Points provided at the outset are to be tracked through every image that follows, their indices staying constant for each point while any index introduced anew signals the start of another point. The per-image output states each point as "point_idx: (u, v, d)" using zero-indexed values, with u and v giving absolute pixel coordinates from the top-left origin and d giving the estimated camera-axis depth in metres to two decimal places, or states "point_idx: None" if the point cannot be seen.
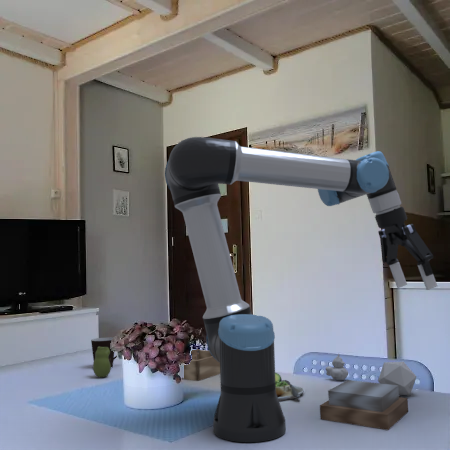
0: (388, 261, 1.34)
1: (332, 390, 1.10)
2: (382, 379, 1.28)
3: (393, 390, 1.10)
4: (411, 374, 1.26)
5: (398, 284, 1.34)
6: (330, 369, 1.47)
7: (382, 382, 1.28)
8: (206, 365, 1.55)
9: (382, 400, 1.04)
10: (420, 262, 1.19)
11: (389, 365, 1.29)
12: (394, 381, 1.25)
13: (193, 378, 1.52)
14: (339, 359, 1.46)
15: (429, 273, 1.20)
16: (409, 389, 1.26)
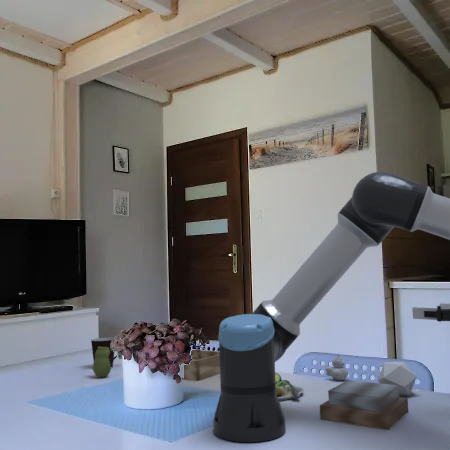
0: None
1: (332, 390, 1.10)
2: (382, 379, 1.28)
3: (393, 390, 1.10)
4: (411, 374, 1.26)
5: (443, 304, 1.27)
6: (330, 369, 1.47)
7: (382, 382, 1.28)
8: (206, 365, 1.55)
9: (382, 400, 1.04)
10: (438, 308, 1.12)
11: (389, 365, 1.29)
12: (394, 381, 1.25)
13: (193, 378, 1.52)
14: (339, 359, 1.46)
15: (425, 313, 1.15)
16: (409, 389, 1.26)
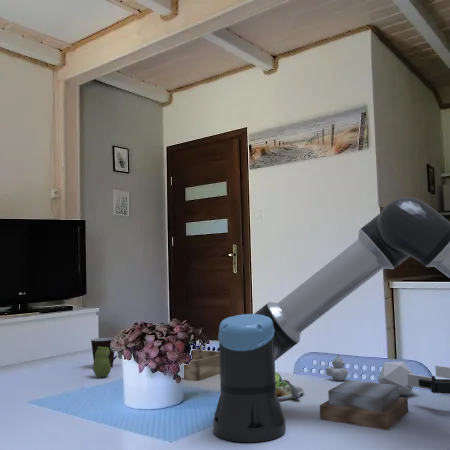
0: None
1: (332, 390, 1.10)
2: (382, 379, 1.28)
3: (393, 390, 1.10)
4: None
5: (438, 367, 1.27)
6: (330, 369, 1.47)
7: (382, 382, 1.28)
8: (206, 365, 1.55)
9: (382, 400, 1.04)
10: (433, 378, 1.13)
11: (389, 365, 1.29)
12: (394, 381, 1.25)
13: (193, 378, 1.52)
14: (339, 359, 1.46)
15: (420, 382, 1.15)
16: (409, 389, 1.26)
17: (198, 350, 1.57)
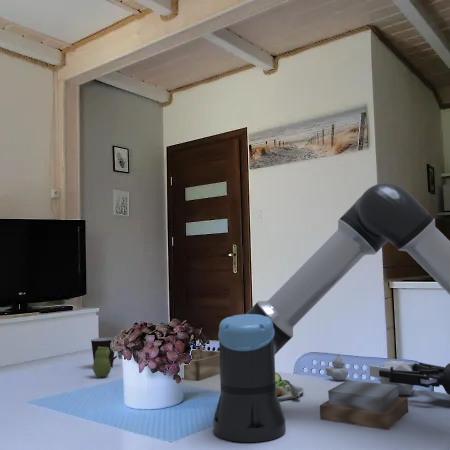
0: (416, 364, 1.30)
1: (332, 390, 1.10)
2: (382, 378, 1.28)
3: (393, 390, 1.10)
4: None
5: None
6: (330, 369, 1.47)
7: (382, 381, 1.29)
8: (206, 365, 1.55)
9: (382, 400, 1.04)
10: (391, 369, 1.23)
11: (389, 364, 1.29)
12: None
13: (193, 378, 1.52)
14: (339, 359, 1.46)
15: (380, 372, 1.26)
16: (409, 389, 1.26)
17: (199, 350, 1.57)
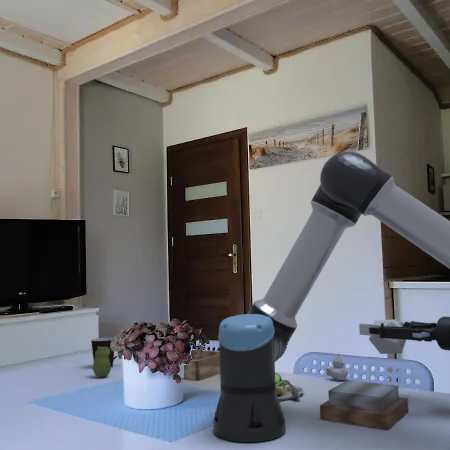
0: (407, 322, 1.25)
1: (332, 390, 1.10)
2: (372, 336, 1.23)
3: (393, 390, 1.10)
4: None
5: None
6: (330, 369, 1.47)
7: (373, 340, 1.23)
8: (206, 365, 1.55)
9: (382, 400, 1.04)
10: (381, 325, 1.18)
11: (380, 322, 1.24)
12: (385, 338, 1.20)
13: (193, 378, 1.52)
14: (339, 359, 1.46)
15: (370, 329, 1.20)
16: (401, 346, 1.21)
17: (199, 350, 1.57)
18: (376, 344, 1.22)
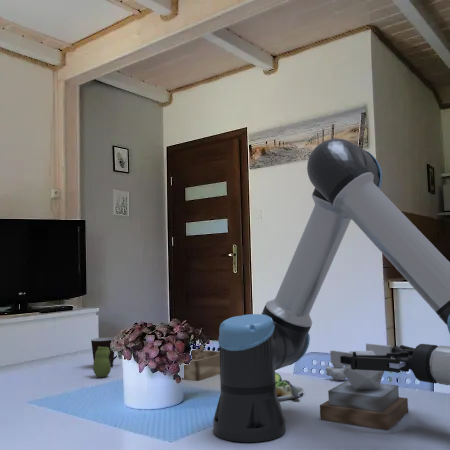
0: (395, 347, 1.14)
1: (332, 390, 1.10)
2: (346, 370, 1.11)
3: (393, 390, 1.10)
4: None
5: (369, 345, 1.18)
6: (330, 369, 1.47)
7: (346, 374, 1.12)
8: (206, 365, 1.55)
9: (382, 400, 1.04)
10: (354, 354, 1.04)
11: None
12: (359, 373, 1.09)
13: (193, 378, 1.52)
14: None
15: (341, 358, 1.07)
16: (376, 382, 1.09)
17: (200, 350, 1.57)
18: (350, 379, 1.11)
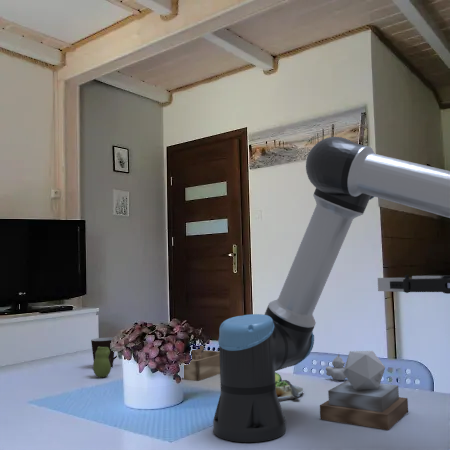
0: None
1: (332, 390, 1.10)
2: (346, 370, 1.11)
3: (393, 390, 1.10)
4: (379, 365, 1.09)
5: (415, 277, 1.10)
6: (330, 369, 1.47)
7: (346, 374, 1.12)
8: (206, 365, 1.55)
9: (382, 400, 1.04)
10: (406, 277, 0.96)
11: (354, 354, 1.12)
12: (359, 373, 1.09)
13: (193, 378, 1.52)
14: (339, 359, 1.46)
15: (391, 284, 0.98)
16: (376, 382, 1.09)
17: (200, 350, 1.57)
18: (350, 379, 1.11)
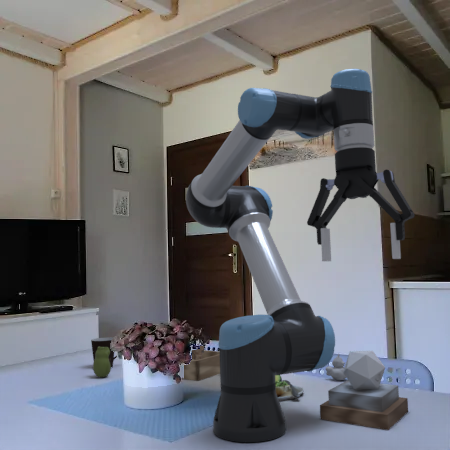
0: None
1: (332, 390, 1.10)
2: (346, 370, 1.11)
3: (393, 390, 1.10)
4: (379, 365, 1.09)
5: None
6: (330, 369, 1.47)
7: (346, 374, 1.12)
8: (206, 365, 1.55)
9: (382, 400, 1.04)
10: None
11: (355, 354, 1.12)
12: (359, 373, 1.09)
13: (193, 378, 1.52)
14: (339, 359, 1.46)
15: None
16: (376, 382, 1.09)
17: (201, 350, 1.57)
18: (350, 379, 1.11)
